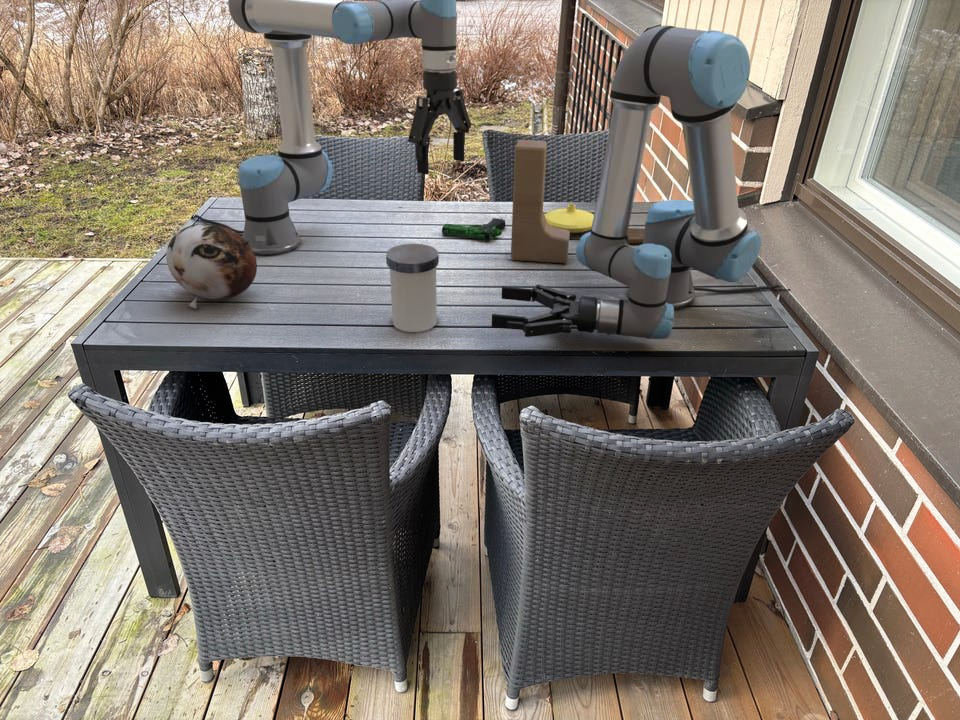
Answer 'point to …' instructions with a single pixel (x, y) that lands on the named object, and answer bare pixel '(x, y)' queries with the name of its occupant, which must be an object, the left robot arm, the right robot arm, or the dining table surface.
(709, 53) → the right robot arm
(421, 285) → the jar
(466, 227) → the handgun
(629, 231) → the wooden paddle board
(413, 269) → the lid
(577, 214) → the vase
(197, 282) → the cat face ball
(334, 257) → the dining table surface
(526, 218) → the decorative block
